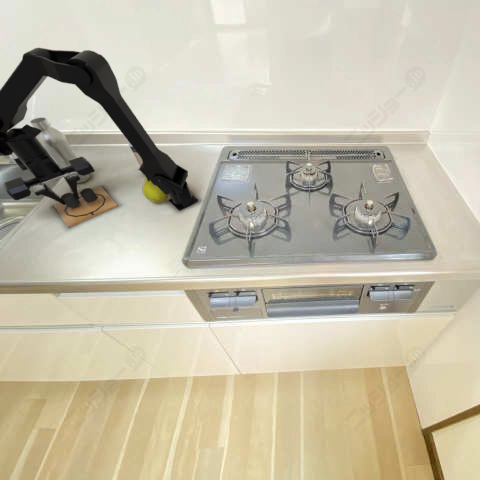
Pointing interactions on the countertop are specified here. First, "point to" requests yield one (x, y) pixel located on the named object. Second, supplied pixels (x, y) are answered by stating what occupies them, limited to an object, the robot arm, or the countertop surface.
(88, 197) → the eye dot right
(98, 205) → the board
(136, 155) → the beer can
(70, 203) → the eye dot left
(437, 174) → the countertop surface
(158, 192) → the fruit
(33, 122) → the plastic bottle
